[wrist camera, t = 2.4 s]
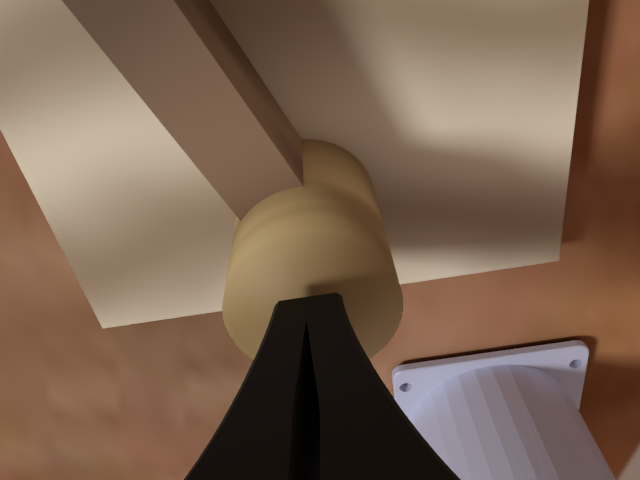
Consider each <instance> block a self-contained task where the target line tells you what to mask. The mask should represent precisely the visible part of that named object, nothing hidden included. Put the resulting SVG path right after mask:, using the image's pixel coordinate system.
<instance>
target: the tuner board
mask: <svg viewBox="0 0 640 480" xmlns="http://www.w3.org/2000/svg"><path fill="white" fill-rule="evenodd" d="M210 2H211V3H212V5H213V6H214V8H215V9H216V11H217V13H218V14H219V16H220V17H221V19H222V20H223V22H224V23H225V25H226V26H227V28H228V29H229V31H230V32H231V34H232V35H233V37H234V38H235V40H236V41H237V43H238V44H239V46H240V47H241V49H242V50H243V52H244V53H245V55H246V56H247V58H248V59H249V61H250V62H251V64H252V65H253V67H254V68H255V70H256V71H257V73H258V74H259V76H260V77H261V79H262V80H263V82H264V83H265V85H266V86H267V88H268V89H269V91H270V93H271V94H272V96H273V97H274V99H275V100H276V102H277V103H278V105H279V106H280V108H281V109H282V111H283V112H284V114H285V115H286V117H287V118H288V120H289V121H290V123H291V124H292V126H293V127H294V129H295V130H296V132H297V133H298V135H299V136H300V138H301V139H315V140H321V141H326V142H330V143H333V144H335V145H338V146H340V147H342V148H344V149H345V150H347V151H349V152H350V153H351V154H353V155H354V156H355V157H356V158H357V159H358V160H359V161H360V162H361V163H362V164H363V166H364V167H365V169H366V170H367V172H368V174H369V176H370V178H371V181H372V184H373V188H374V192H375V195H376V199H377V203H378V207H379V210H380V214H381V218H382V221H383V225H384V229H385V232H386V236H387V240H388V243H389V247H390V251H391V254H392V258H393V262H394V265H395V269H396V273H397V276H398V280H399V284H406V283H412V282H419V281H426V280H433V279H439V278H446V277H453V276H460V275H466V274H473V273H480V272H487V271H493V270H500V269H507V268H514V267H520V266H527V265H534V264H541V263H547V262H554V261H559V255H560V246H561V238H562V229H563V221H564V212H565V204H566V195H567V187H568V178H569V169H570V161H571V152H572V144H573V135H574V127H575V118H576V110H577V101H578V92H579V84H580V75H581V67H582V58H583V50H584V41H585V33H586V24H587V16H588V7H589V0H210ZM0 130H1V132H2V133H3V135H4V137H5V139H6V141H7V143H8V145H9V147H10V149H11V151H12V153H13V155H14V157H15V159H16V161H17V163H18V165H19V167H20V169H21V170H22V172H23V174H24V176H25V178H26V180H27V182H28V184H29V186H30V188H31V190H32V192H33V194H34V196H35V198H36V200H37V202H38V204H39V205H40V207H41V209H42V211H43V213H44V215H45V217H46V219H47V221H48V223H49V225H50V227H51V229H52V231H53V233H54V235H55V237H56V239H57V241H58V242H59V244H60V246H61V248H62V250H63V252H64V254H65V256H66V258H67V260H68V262H69V264H70V266H71V268H72V270H73V272H74V274H75V276H76V278H77V279H78V281H79V283H80V285H81V287H82V289H83V291H84V293H85V295H86V297H87V299H88V301H89V303H90V305H91V307H92V309H93V311H94V313H95V315H96V316H97V318H98V320H99V322H100V324H101V326H102V328H109V327H116V326H122V325H129V324H136V323H143V322H149V321H156V320H163V319H170V318H176V317H183V316H190V315H197V314H203V313H210V312H217V311H222V305H223V297H224V290H225V284H226V278H227V272H228V266H229V260H230V254H231V248H232V241H233V235H234V229H235V223H236V217H237V216H236V215H235V214H234V212H233V211H232V210H231V209H230V208H229V206H228V205H227V204H226V203H225V201H224V200H223V199H222V198H221V196H220V195H219V194H218V193H217V191H216V190H215V189H214V188H213V187H212V185H211V184H210V183H209V182H208V180H207V179H206V178H205V177H204V175H203V174H202V173H201V172H200V170H199V169H198V168H197V167H196V166H195V164H194V163H193V162H192V161H191V159H190V158H189V157H188V156H187V154H186V153H185V152H184V151H183V149H182V148H181V147H180V146H179V144H178V143H177V142H176V141H175V140H174V138H173V137H172V136H171V135H170V133H169V132H168V131H167V130H166V128H165V127H164V126H163V125H162V123H161V122H160V121H159V120H158V119H157V117H156V116H155V115H154V114H153V112H152V111H151V110H150V109H149V107H148V106H147V105H146V104H145V102H144V101H143V100H142V99H141V98H140V96H139V95H138V94H137V93H136V91H135V90H134V89H133V88H132V86H131V85H130V84H129V83H128V81H127V80H126V79H125V78H124V77H123V75H122V74H121V73H120V72H119V70H118V69H117V68H116V67H115V65H114V64H113V63H112V62H111V60H110V59H109V58H108V57H107V56H106V54H105V53H104V52H103V51H102V49H101V48H100V47H99V46H98V44H97V43H96V42H95V41H94V39H93V38H92V37H91V36H90V35H89V33H88V32H87V31H86V30H85V28H84V27H83V26H82V25H81V23H80V22H79V21H78V20H77V18H76V17H75V16H74V15H73V13H72V12H71V11H70V10H69V9H68V7H67V6H66V5H65V4H64V2H63V1H62V0H0Z"/></svg>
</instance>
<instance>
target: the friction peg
mask: <svg viewBox="0 0 640 480" xmlns="http://www.w3.org/2000/svg"><path fill="white" fill-rule="evenodd" d="M62 1H63V2H64V4H65V5H66V6H67V7H68V9H69V10H70V11H71V12H72V13H73V15H74V16H75V17H76V18H77V20H78V21H79V22H80V23H81V25H82V26H83V27H84V28H85V30H86V31H87V32H88V33H89V35H90V36H91V37H92V38H93V39H94V41H95V42H96V43H97V44H98V46H99V47H100V48H101V49H102V51H103V52H104V53H105V54H106V56H107V57H108V58H109V59H110V60H111V62H112V63H113V64H114V65H115V67H116V68H117V69H118V70H119V72H120V73H121V74H122V75H123V77H124V78H125V79H126V80H127V81H128V83H129V84H130V85H131V86H132V88H133V89H134V90H135V91H136V93H137V94H138V95H139V96H140V98H141V99H142V100H143V101H144V102H145V104H146V105H147V106H148V107H149V109H150V110H151V111H152V112H153V114H154V115H155V116H156V117H157V119H158V120H159V121H160V122H161V123H162V125H163V126H164V127H165V128H166V130H167V131H168V132H169V133H170V135H171V136H172V137H173V138H174V140H175V141H176V142H177V143H178V144H179V146H180V147H181V148H182V149H183V151H184V152H185V153H186V154H187V156H188V157H189V158H190V159H191V161H192V162H193V163H194V164H195V166H196V167H197V168H198V169H199V170H200V172H201V173H202V174H203V175H204V177H205V178H206V179H207V180H208V182H209V183H210V184H211V185H212V187H213V188H214V189H215V190H216V191H217V193H218V194H219V195H220V196H221V198H222V199H223V200H224V201H225V203H226V204H227V205H228V206H229V208H230V209H231V210H232V211H233V212H234V214H235V215H236V216H237V217H236V223H235V229H234V235H233V241H232V248H231V254H230V260H229V266H228V272H227V278H226V284H225V290H224V297H223V305H222V312H223V319H224V324H225V327H226V329H227V331H228V334H229V335H230V337H231V339H232V340H233V342H234V343H235V344H236V345H237V346H238V348H239V349H240V350H241V351H243V352H244V353H245V354H246V355H247V356H249V357H250V358H251V359H253V360H254V358H255V356H256V354H257V352H258V349H259V347H260V345H261V342H262V340H263V337H264V335H265V332H266V330H267V327H268V324H269V322H270V319H271V316H272V313H273V309H274V306H275V305H276V304H277V303H278V301H282V300H288V299H295V298H302V297H309V296H315V295H322V294H329V293H336V292H337V293H338V294H340V295H341V296H342V297H343V303H344V306H345V310H346V313H347V315H348V318H349V321H350V323H351V325H352V327H353V330H354V332H355V334H356V336H357V338H358V340H359V342H360V344H361V346H362V348H363V349H364V351H365V353H366V355H367V357H368V358H369V359H370V358H371V357H373V356H374V355H375V354H377V353H378V352H379V351H380V350H381V349H382V348H383V347H384V346H385V345H386V344H387V343H388V342H389V341H390V339H391V338H392V337H393V335H394V334H395V332H396V330H397V328H398V326H399V323H400V320H401V317H402V312H403V297H402V291H401V287H400V284H399V280H398V276H397V273H396V269H395V265H394V262H393V258H392V254H391V251H390V247H389V243H388V240H387V236H386V232H385V229H384V225H383V221H382V218H381V214H380V210H379V207H378V203H377V199H376V195H375V192H374V188H373V184H372V181H371V178H370V176H369V174H368V172H367V170H366V169H365V167H364V166H363V164H362V163H361V162H360V161H359V160H358V159H357V158H356V157H355V156H354V155H353V154H351V153H350V152H349V151H347V150H345V149H344V148H342V147H340V146H338V145H335V144H333V143H330V142H326V141H321V140H315V139H301V138H300V136H299V135H298V133H297V132H296V130H295V129H294V127H293V126H292V124H291V123H290V121H289V120H288V118H287V117H286V115H285V114H284V112H283V111H282V109H281V108H280V106H279V105H278V103H277V102H276V100H275V99H274V97H273V96H272V94H271V93H270V91H269V89H268V88H267V86H266V85H265V83H264V82H263V80H262V79H261V77H260V76H259V74H258V73H257V71H256V70H255V68H254V67H253V65H252V64H251V62H250V61H249V59H248V58H247V56H246V55H245V53H244V52H243V50H242V49H241V47H240V46H239V44H238V43H237V41H236V40H235V38H234V37H233V35H232V34H231V32H230V31H229V29H228V28H227V26H226V25H225V23H224V22H223V20H222V19H221V17H220V16H219V14H218V13H217V11H216V9H215V8H214V6H213V5H212V3H211V2H210V0H62Z"/></svg>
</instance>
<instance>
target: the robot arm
mask: <svg viewBox="0 0 640 480" xmlns="http://www.w3.org/2000/svg"><path fill="white" fill-rule="evenodd" d="M588 357H589V349H588V347H587V346H586V344H585V343H584V342H583V341H580V340H573V341H566V342H559V343H552V344H545V345H538V346H530V347H523V348H516V349H509V350H502V351H495V352H488V353H481V354H474V355H467V356H460V357H453V358H446V359H438V360H431V361H424V362H417V363H410V364H403V365H399V366H397V367H396V368H394V370H393V371H392V382H393V391H394V398H393V396H392V395H391V393H390V392H389V390H388V389H387V387H386V386H385V384H384V383H383V381H382V380H381V378H380V377H379V375H378V374H377V372H376V370H375V369H374V367H373V365H372V364H371V362H370V360H369V358H368V357H367V355H366V353H365V351H364V349H363V348H362V346H361V344H360V342H359V340H358V338H357V336H356V334H355V332H354V330H353V327H352V325H351V323H350V321H349V318H348V315H347V313H346V310H345V306H344V303H343V297H342V296H341V295H340V294H338V293H337V292H336V293H329V294H322V295H315V296H309V297H302V298H295V299H288V300H282V301H278V303H277V304H276V305H275V306H274V309H273V313H272V316H271V319H270V322H269V324H268V327H267V330H266V332H265V335H264V337H263V340H262V342H261V345H260V347H259V349H258V352H257V354H256V356H255V358H254V360H253V362H252V365H251V367H250V369H249V371H248V373H247V375H246V378H245V380H244V382H243V384H242V386H241V387H240V389H239V391H238V393H237V395H236V397H235V399H234V400H233V402H232V404H231V406H230V408H229V410H228V412H227V413H226V415H225V417H224V419H223V421H222V422H221V424H220V426H219V427H218V429H217V431H216V432H215V434H214V436H213V437H212V439H211V440H210V442H209V444H208V445H207V447H206V448H205V450H204V451H203V453H202V454H201V456H200V457H199V459H198V460H197V462H196V463H195V465H194V466H193V468H192V469H191V470H190V472H189V473H188V475H187V476H186V477H185V479H184V480H616V478H615V477H614V475H613V473H612V471H611V469H610V467H609V466H608V464H607V462H606V460H605V458H604V456H603V455H602V453H601V451H600V449H599V447H598V445H597V444H596V442H595V440H594V438H593V436H592V435H591V433H590V431H589V429H588V427H587V425H586V424H585V422H584V420H583V418H582V416H581V414H580V413H579V408H580V402H581V397H582V391H583V385H584V380H585V374H586V368H587V363H588ZM404 383H408V384H404Z"/></svg>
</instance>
